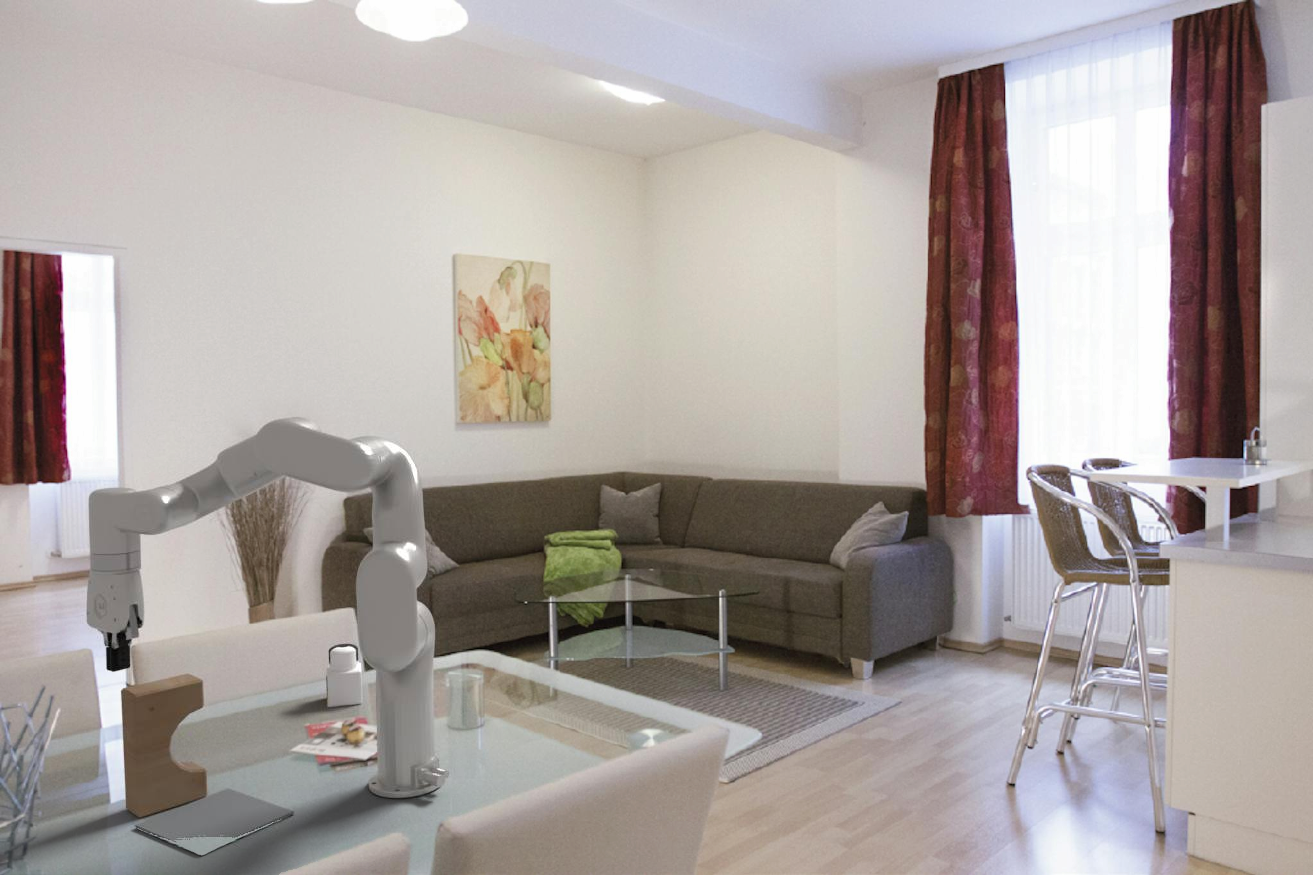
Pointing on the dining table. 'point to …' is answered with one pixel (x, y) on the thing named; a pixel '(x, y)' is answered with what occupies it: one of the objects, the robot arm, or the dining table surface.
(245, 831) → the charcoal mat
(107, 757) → the dining table surface
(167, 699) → the decorative block
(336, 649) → the medicine bottle
